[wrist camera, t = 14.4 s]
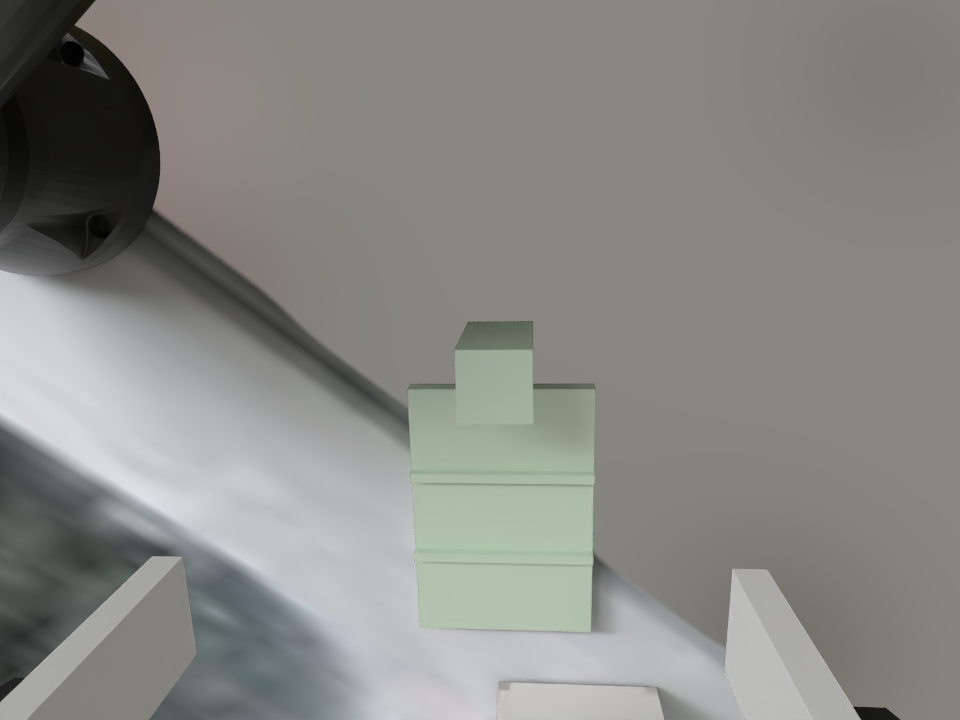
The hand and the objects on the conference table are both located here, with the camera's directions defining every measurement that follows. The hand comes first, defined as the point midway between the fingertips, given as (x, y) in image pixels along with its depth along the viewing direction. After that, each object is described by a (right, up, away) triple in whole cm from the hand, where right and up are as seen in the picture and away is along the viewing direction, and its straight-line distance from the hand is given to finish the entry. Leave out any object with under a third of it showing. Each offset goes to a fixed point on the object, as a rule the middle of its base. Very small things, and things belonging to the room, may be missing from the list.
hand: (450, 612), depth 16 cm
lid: (+2, -2, +28) cm, 28 cm away
